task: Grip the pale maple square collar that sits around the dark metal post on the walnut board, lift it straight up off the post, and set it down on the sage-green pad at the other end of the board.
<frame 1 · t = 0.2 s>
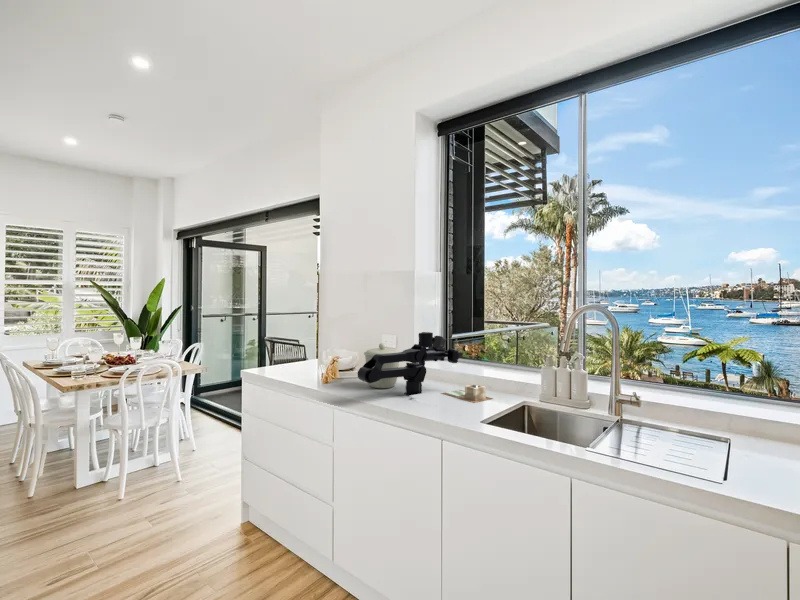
hand: (455, 352, 203), 17 cm above the table, tool horizontal, fingers open, 9 cm apart
board: (466, 399, 181), on the table
collar: (475, 398, 177), point 1 cm above the table, touching board
post: (475, 398, 177), resting on board
canister: (382, 386, 205), on the table
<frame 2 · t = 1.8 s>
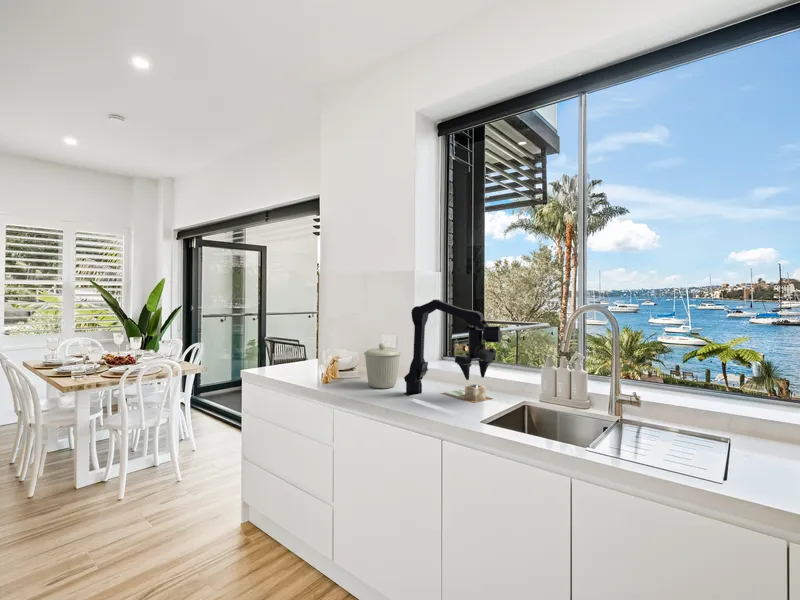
hand: (475, 378, 177), 10 cm above the table, tool pointing down, fingers open, 9 cm apart
nothing on the table moved.
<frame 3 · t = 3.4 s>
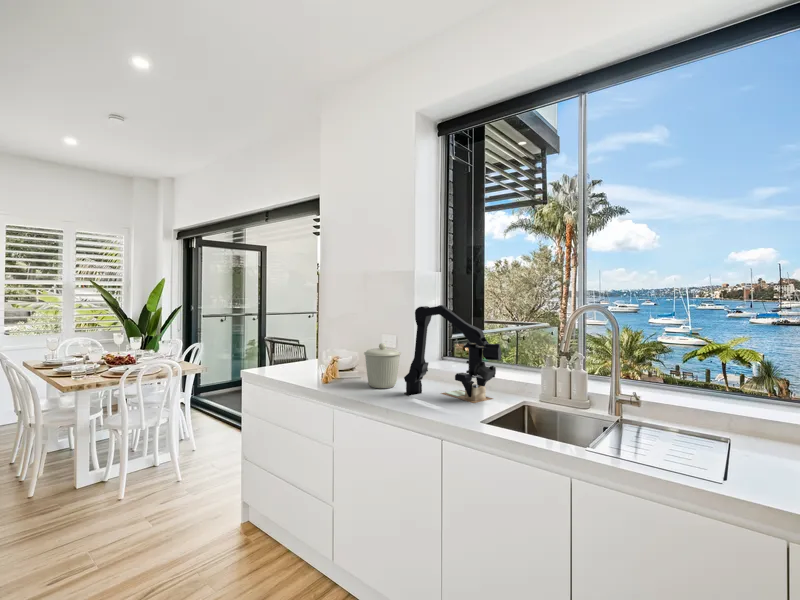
hand: (475, 395, 177), 3 cm above the table, tool pointing down, fingers closed on collar, 6 cm apart
collar: (475, 398, 177), point 1 cm above the table, touching board, gripper
everything else where it was.
when the fingers open (4 cm above the table, at t = 8.3 s): collar drops 1 cm, resting on board.
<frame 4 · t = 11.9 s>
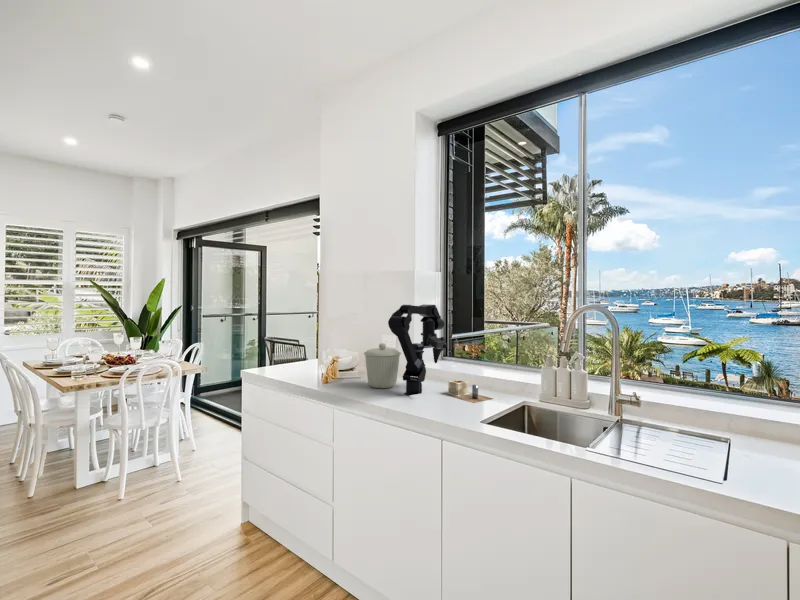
hand: (428, 364, 199), 12 cm above the table, tool pointing down, fingers open, 9 cm apart
collar: (458, 393, 185), point 2 cm above the table, touching board
everything else where it was.
at the end: collar 0.1 cm from the target spot on the board, point 1.8 cm above the board's base; collar tilted 0°; the gripper is holding nothing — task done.
